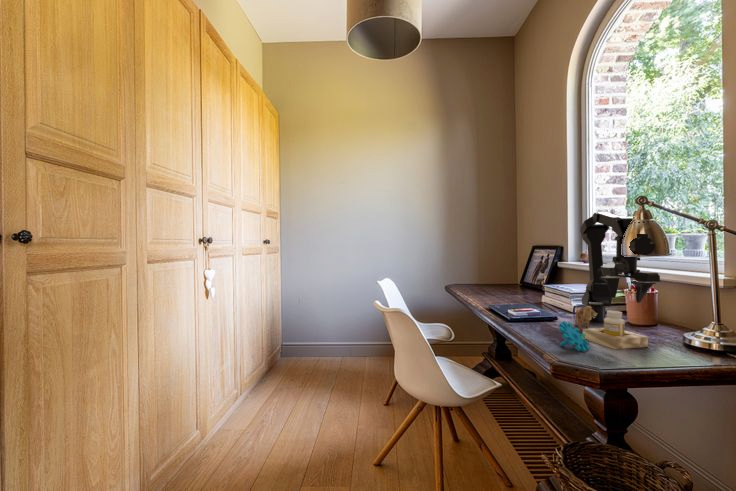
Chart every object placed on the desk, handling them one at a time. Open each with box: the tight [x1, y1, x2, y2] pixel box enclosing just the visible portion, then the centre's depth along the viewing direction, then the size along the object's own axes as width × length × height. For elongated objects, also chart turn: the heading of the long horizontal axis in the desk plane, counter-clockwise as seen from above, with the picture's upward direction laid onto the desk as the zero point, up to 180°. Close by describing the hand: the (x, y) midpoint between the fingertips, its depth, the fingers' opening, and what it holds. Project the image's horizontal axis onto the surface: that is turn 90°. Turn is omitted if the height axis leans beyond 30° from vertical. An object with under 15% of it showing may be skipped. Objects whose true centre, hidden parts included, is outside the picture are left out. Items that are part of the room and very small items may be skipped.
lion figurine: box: [573, 305, 597, 331], centre depth 132 cm, size 15×5×9 cm, turn 168°
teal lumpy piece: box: [558, 320, 590, 353], centre depth 108 cm, size 11×6×10 cm
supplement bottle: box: [603, 310, 626, 336], centre depth 114 cm, size 5×5×10 cm
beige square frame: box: [582, 327, 649, 350], centre depth 114 cm, size 12×12×3 cm
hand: (625, 300), depth 122 cm, fingers open, 9 cm apart
